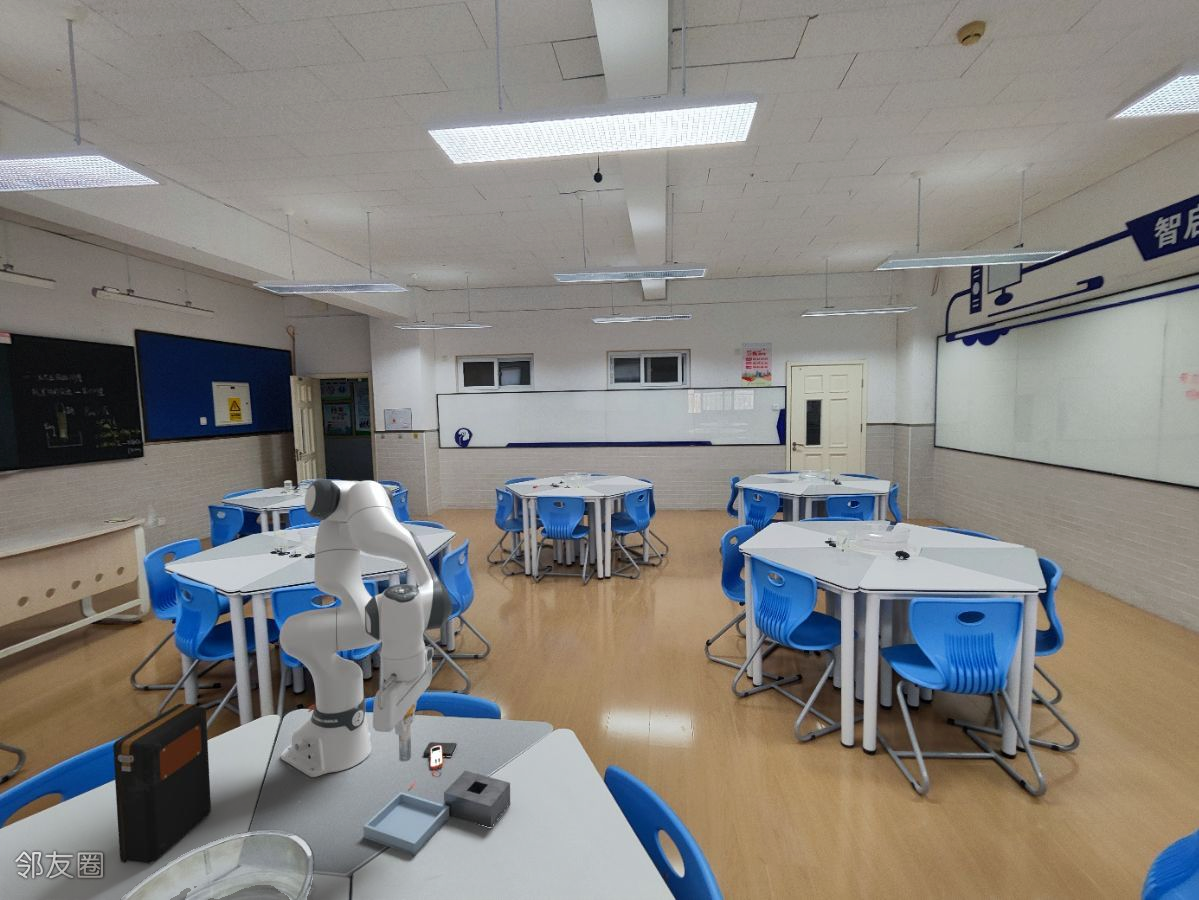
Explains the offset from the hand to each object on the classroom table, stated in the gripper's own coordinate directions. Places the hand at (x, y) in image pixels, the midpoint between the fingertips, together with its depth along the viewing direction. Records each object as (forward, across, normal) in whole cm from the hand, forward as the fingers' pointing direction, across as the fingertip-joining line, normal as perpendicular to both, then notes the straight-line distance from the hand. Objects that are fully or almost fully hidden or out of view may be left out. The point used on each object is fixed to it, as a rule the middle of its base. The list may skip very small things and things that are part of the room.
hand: (405, 727), depth 116 cm
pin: (+7, 0, 0) cm, 7 cm away
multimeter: (+23, +20, +1) cm, 30 cm away
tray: (+22, 0, 0) cm, 22 cm away
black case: (+22, -7, +49) cm, 54 cm away
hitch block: (+22, +7, -13) cm, 27 cm away
